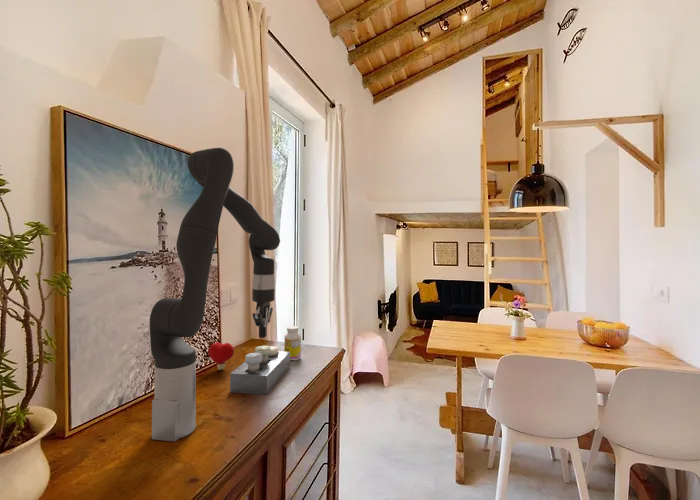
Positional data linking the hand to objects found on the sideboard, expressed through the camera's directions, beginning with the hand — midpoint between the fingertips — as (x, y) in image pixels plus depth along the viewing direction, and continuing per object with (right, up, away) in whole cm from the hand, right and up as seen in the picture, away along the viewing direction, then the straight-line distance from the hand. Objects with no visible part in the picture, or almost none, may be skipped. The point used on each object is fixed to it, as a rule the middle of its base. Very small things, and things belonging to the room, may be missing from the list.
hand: (262, 337), depth 120 cm
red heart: (-17, -14, +8) cm, 24 cm away
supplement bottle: (+7, -14, +22) cm, 27 cm away
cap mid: (0, -9, 0) cm, 9 cm away
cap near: (-1, -9, -8) cm, 12 cm away
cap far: (+1, -11, +8) cm, 14 cm away
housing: (0, -15, 0) cm, 15 cm away
